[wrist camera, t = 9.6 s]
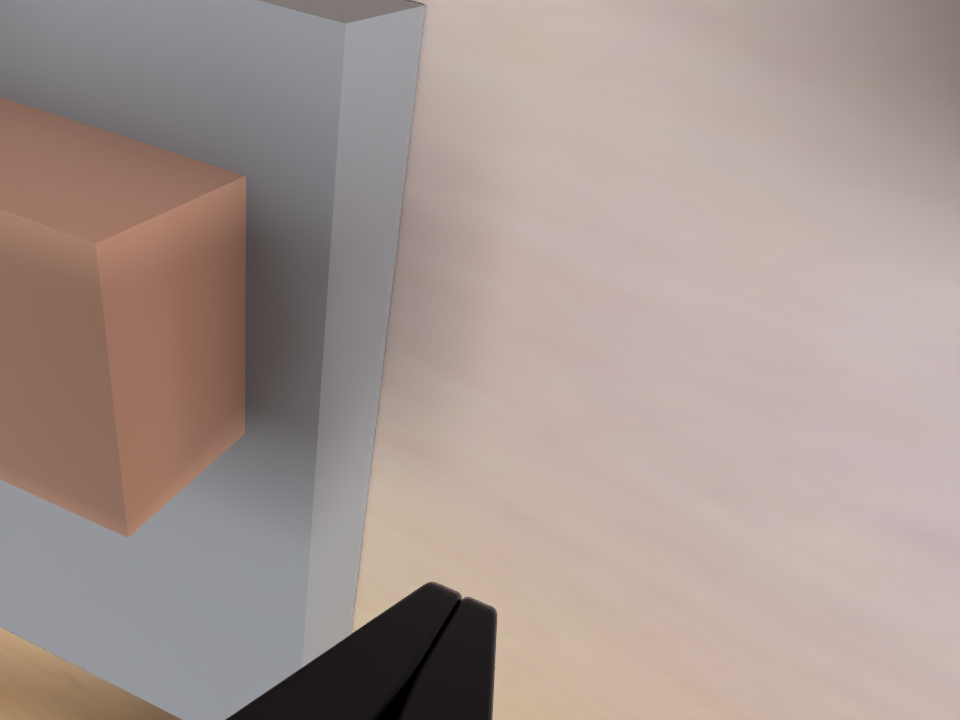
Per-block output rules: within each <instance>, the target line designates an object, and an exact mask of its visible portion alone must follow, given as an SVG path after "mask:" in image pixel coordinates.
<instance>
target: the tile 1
mask: <svg viewBox="0 0 960 720" xmlns="http://www.w3.org/2000/svg"><path fill="white" fill-rule="evenodd" d="M245 296H246V176H245V175H242V174H239V173H236V172H233V171H229V170H226V169H223V168H220V167H217V166H214V165H211V164H208V163H205V162H201V161H198V160H195V159H192V158H189V157H186V156H183V155H180V154H177V153H173V152H170V151H167V150H164V149H161V148H158V147H155V146H152V145H149V144H146V143H142V142H139V141H136V140H133V139H130V138H127V137H124V136H121V135H118V134H114V133H111V132H108V131H105V130H102V129H99V128H96V127H93V126H90V125H86V124H83V123H80V122H77V121H74V120H71V119H68V118H65V117H62V116H59V115H55V114H52V113H49V112H46V111H43V110H40V109H37V108H34V107H31V106H27V105H24V104H21V103H18V102H15V101H12V100H9V99H6V98H3V97H0V480H3V481H5V482H7V483H9V484H11V485H13V486H16V487H18V488H20V489H22V490H24V491H27V492H29V493H31V494H33V495H35V496H37V497H40V498H42V499H44V500H46V501H48V502H51V503H53V504H55V505H57V506H59V507H61V508H64V509H66V510H68V511H70V512H72V513H75V514H77V515H79V516H81V517H83V518H85V519H88V520H90V521H92V522H94V523H96V524H99V525H101V526H103V527H105V528H107V529H110V530H112V531H114V532H116V533H118V534H120V535H123V536H125V537H127V538H128V537H130V536H131V535H132V534H133V533H134V532H135V531H136V530H137V529H139V528H140V527H141V526H142V525H143V524H144V523H145V522H146V521H148V520H149V519H150V518H151V517H152V516H153V515H154V514H155V513H156V512H158V511H159V510H160V509H161V508H162V507H163V506H164V505H165V504H167V503H168V502H169V501H170V500H171V499H172V498H173V497H174V496H176V495H177V494H178V493H179V492H180V491H181V490H182V489H183V488H184V487H186V486H187V485H188V484H189V483H190V482H191V481H192V480H193V479H195V478H196V477H197V476H198V475H199V474H200V473H201V472H202V471H204V470H205V469H206V468H207V467H208V466H209V465H210V464H211V463H212V462H214V461H215V460H216V459H217V458H218V457H219V456H220V455H221V454H223V453H224V452H225V451H226V450H227V449H228V448H229V447H230V446H232V445H233V444H234V443H235V442H236V441H237V440H238V439H239V438H240V437H242V436H243V435H244V434H245Z"/></svg>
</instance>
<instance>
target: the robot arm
mask: <svg viewBox="0 0 960 720" xmlns="http://www.w3.org/2000/svg"><path fill="white" fill-rule="evenodd" d="M496 632H497V612H496V610H495V608H493V607H492V606H489V605H487V604H485V603H482V602H480V601H478V600H475V599H473V598H471V597H465V598H464V599H462V596H461V594H460V593H458V592H457V591H454V590H452V589H450V588H447V587H445V586H443V585H440V584H438V583H435V582H429V583H426V584H425V585H423V586H422V587H420V588H419V589H417V590H416V591H414V592H413V593H411V594H410V595H408V596H407V597H405V598H404V599H402V600H401V601H399V602H398V603H396V604H395V605H394V606H392V607H391V608H389V609H388V610H386V611H385V612H383V613H382V614H380V615H379V616H377V617H376V618H374V619H373V620H371V621H370V622H368V623H367V624H365V625H364V626H363V627H361V628H360V629H358V630H357V631H355V632H354V633H352V634H351V635H349V636H348V637H346V638H345V639H343V640H342V641H340V642H339V643H337V644H336V645H335V646H333V647H332V648H330V649H329V650H327V651H326V652H324V653H323V654H321V655H320V656H318V657H317V658H315V659H314V660H312V661H311V662H309V663H308V664H306V665H305V666H304V667H302V668H301V669H299V670H298V671H296V672H295V673H293V674H292V675H290V676H289V677H287V678H286V679H284V680H283V681H281V682H280V683H278V684H277V685H276V686H274V687H273V688H271V689H270V690H268V691H267V692H265V693H264V694H262V695H261V696H259V697H258V698H256V699H255V700H253V701H252V702H250V703H249V704H247V705H246V706H245V707H243V708H242V709H240V710H239V711H237V712H236V713H234V714H233V715H231V716H230V717H228V718H227V719H225V720H492V715H493V694H494V673H495V652H496Z"/></svg>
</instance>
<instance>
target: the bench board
mask: <svg viewBox="0 0 960 720" xmlns="http://www.w3.org/2000/svg"><path fill="white" fill-rule="evenodd" d="M425 8H426V5H423V4H419V3H415V2H411V1H407V0H0V97H3V98H6V99H9V100H12V101H15V102H18V103H21V104H24V105H27V106H31V107H34V108H37V109H40V110H43V111H46V112H49V113H52V114H55V115H59V116H62V117H65V118H68V119H71V120H74V121H77V122H80V123H83V124H86V125H90V126H93V127H96V128H99V129H102V130H105V131H108V132H111V133H114V134H118V135H121V136H124V137H127V138H130V139H133V140H136V141H139V142H142V143H146V144H149V145H152V146H155V147H158V148H161V149H164V150H167V151H170V152H173V153H177V154H180V155H183V156H186V157H189V158H192V159H195V160H198V161H201V162H205V163H208V164H211V165H214V166H217V167H220V168H223V169H226V170H229V171H233V172H236V173H239V174H242V175H245V176H246V296H245V434H244V435H243V436H242V437H240V438H239V439H238V440H237V441H236V442H235V443H234V444H233V445H232V446H230V447H229V448H228V449H227V450H226V451H225V452H224V453H223V454H221V455H220V456H219V457H218V458H217V459H216V460H215V461H214V462H212V463H211V464H210V465H209V466H208V467H207V468H206V469H205V470H204V471H202V472H201V473H200V474H199V475H198V476H197V477H196V478H195V479H193V480H192V481H191V482H190V483H189V484H188V485H187V486H186V487H184V488H183V489H182V490H181V491H180V492H179V493H178V494H177V495H176V496H174V497H173V498H172V499H171V500H170V501H169V502H168V503H167V504H165V505H164V506H163V507H162V508H161V509H160V510H159V511H158V512H156V513H155V514H154V515H153V516H152V517H151V518H150V519H149V520H148V521H146V522H145V523H144V524H143V525H142V526H141V527H140V528H139V529H137V530H136V531H135V532H134V533H133V534H132V535H131V536H130V537H128V538H127V537H125V536H123V535H120V534H118V533H116V532H114V531H112V530H110V529H107V528H105V527H103V526H101V525H99V524H96V523H94V522H92V521H90V520H88V519H85V518H83V517H81V516H79V515H77V514H75V513H72V512H70V511H68V510H66V509H64V508H61V507H59V506H57V505H55V504H53V503H51V502H48V501H46V500H44V499H42V498H40V497H37V496H35V495H33V494H31V493H29V492H27V491H24V490H22V489H20V488H18V487H16V486H13V485H11V484H9V483H7V482H5V481H3V480H0V627H1V628H3V629H5V630H7V631H9V632H11V633H13V634H15V635H17V636H19V637H21V638H23V639H25V640H27V641H29V642H30V643H32V644H34V645H36V646H38V647H40V648H42V649H44V650H46V651H48V652H50V653H52V654H54V655H56V656H58V657H60V658H62V659H64V660H66V661H68V662H70V663H72V664H74V665H76V666H78V667H79V668H81V669H83V670H85V671H87V672H89V673H91V674H93V675H95V676H97V677H99V678H101V679H103V680H105V681H107V682H109V683H111V684H113V685H115V686H117V687H119V688H121V689H123V690H125V691H126V692H128V693H130V694H132V695H134V696H136V697H138V698H140V699H142V700H144V701H146V702H148V703H150V704H152V705H154V706H156V707H158V708H160V709H162V710H164V711H166V712H168V713H170V714H172V715H174V716H175V717H177V718H179V719H181V720H225V719H227V718H228V717H230V716H231V715H233V714H234V713H236V712H237V711H239V710H240V709H242V708H243V707H245V706H246V705H247V704H249V703H250V702H252V701H253V700H255V699H256V698H258V697H259V696H261V695H262V694H264V693H265V692H267V691H268V690H270V689H271V688H273V687H274V686H276V685H277V684H278V683H280V682H281V681H283V680H284V679H286V678H287V677H289V676H290V675H292V674H293V673H295V672H296V671H298V670H299V669H301V668H302V667H304V666H305V665H306V664H308V663H309V662H311V661H312V660H314V659H315V658H317V657H318V656H320V655H321V654H323V653H324V652H326V651H327V650H329V649H330V648H332V647H333V646H335V645H336V644H337V643H339V642H340V641H342V640H343V639H345V638H346V637H348V636H349V635H351V633H352V624H353V616H354V608H355V599H356V591H357V582H358V574H359V565H360V557H361V548H362V540H363V532H364V523H365V515H366V506H367V498H368V489H369V481H370V472H371V464H372V456H373V447H374V439H375V430H376V422H377V413H378V405H379V396H380V388H381V380H382V371H383V363H384V354H385V346H386V337H387V329H388V321H389V312H390V304H391V295H392V287H393V278H394V270H395V261H396V253H397V245H398V236H399V228H400V219H401V211H402V202H403V194H404V185H405V177H406V169H407V160H408V152H409V143H410V135H411V126H412V118H413V109H414V101H415V93H416V84H417V76H418V67H419V59H420V50H421V42H422V33H423V25H424V17H425Z"/></svg>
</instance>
